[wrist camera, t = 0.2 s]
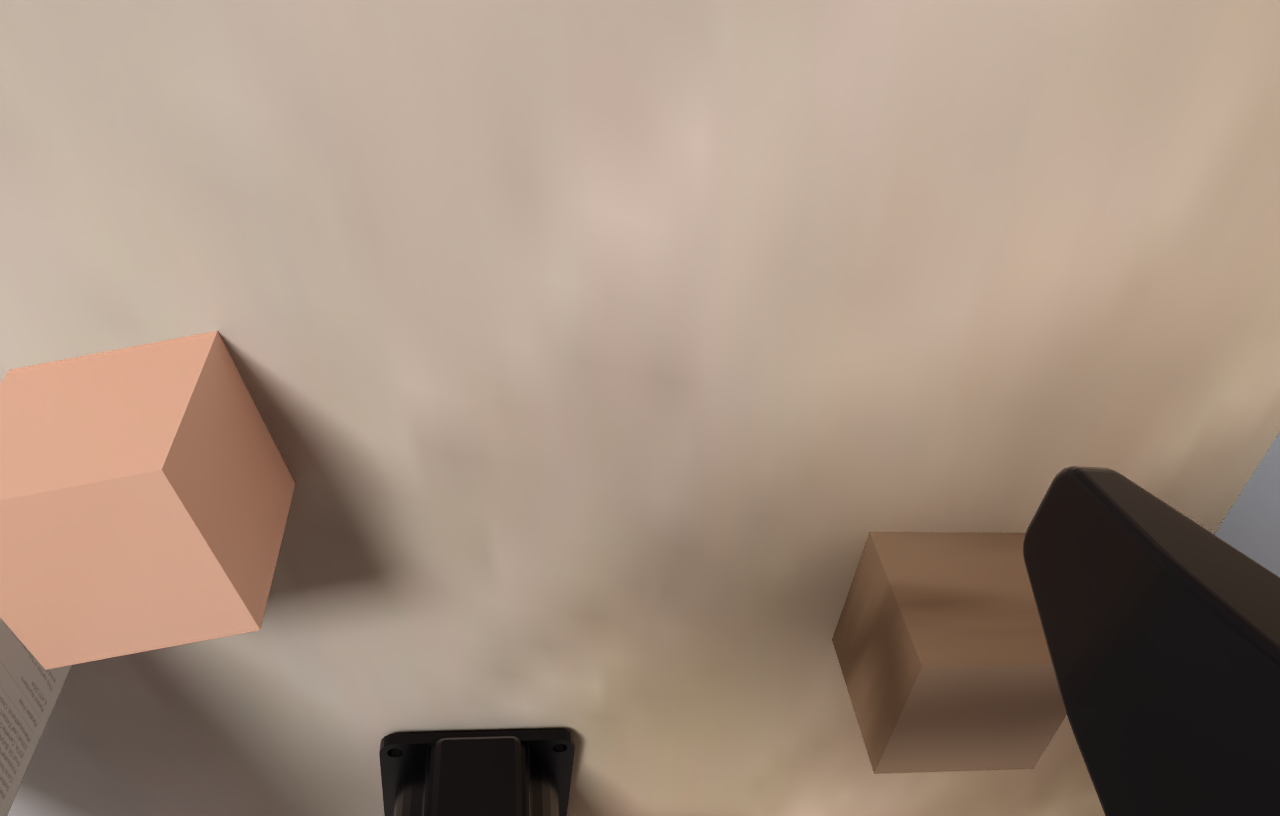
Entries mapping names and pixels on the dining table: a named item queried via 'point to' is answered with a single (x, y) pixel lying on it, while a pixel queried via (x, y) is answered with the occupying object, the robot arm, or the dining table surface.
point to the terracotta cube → (136, 501)
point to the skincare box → (22, 710)
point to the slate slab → (1258, 514)
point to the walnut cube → (947, 654)
